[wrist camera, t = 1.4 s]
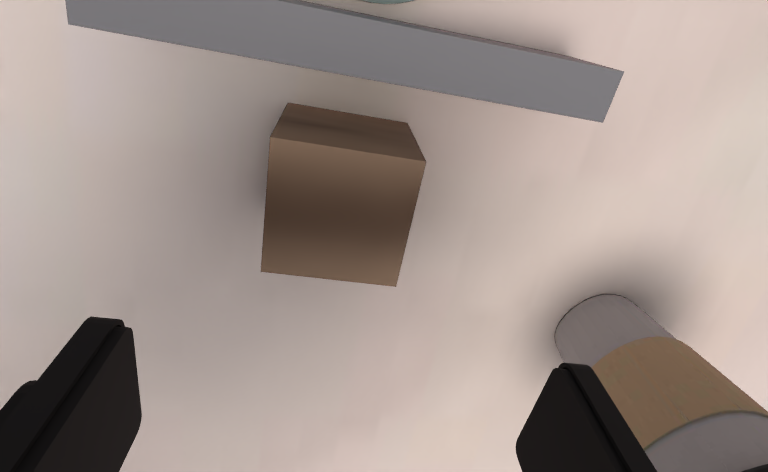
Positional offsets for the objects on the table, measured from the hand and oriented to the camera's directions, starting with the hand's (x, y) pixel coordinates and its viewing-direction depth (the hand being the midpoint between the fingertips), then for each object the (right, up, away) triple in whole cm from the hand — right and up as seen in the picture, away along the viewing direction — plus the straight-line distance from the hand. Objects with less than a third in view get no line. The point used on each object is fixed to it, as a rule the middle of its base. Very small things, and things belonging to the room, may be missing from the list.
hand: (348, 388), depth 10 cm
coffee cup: (+15, -3, +20) cm, 26 cm away
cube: (-1, +7, +14) cm, 15 cm away
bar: (0, +13, +10) cm, 16 cm away
